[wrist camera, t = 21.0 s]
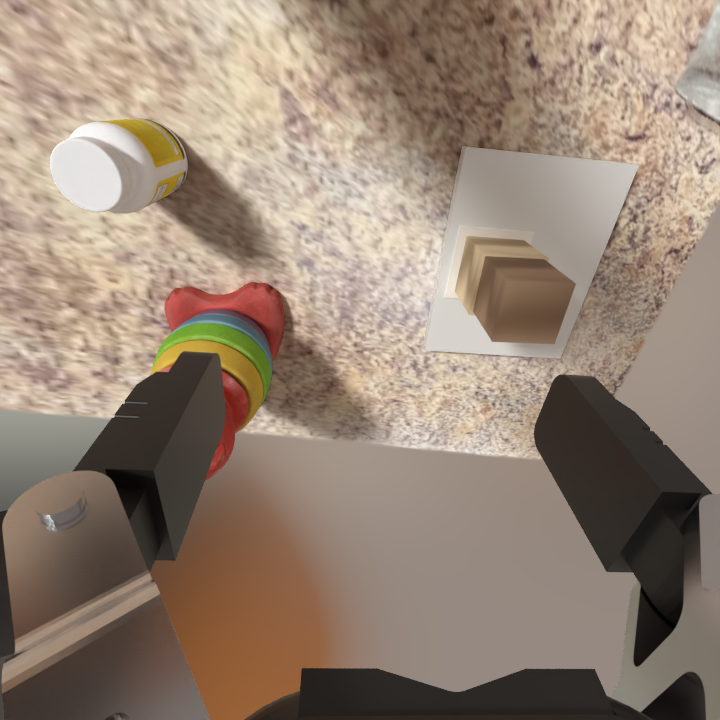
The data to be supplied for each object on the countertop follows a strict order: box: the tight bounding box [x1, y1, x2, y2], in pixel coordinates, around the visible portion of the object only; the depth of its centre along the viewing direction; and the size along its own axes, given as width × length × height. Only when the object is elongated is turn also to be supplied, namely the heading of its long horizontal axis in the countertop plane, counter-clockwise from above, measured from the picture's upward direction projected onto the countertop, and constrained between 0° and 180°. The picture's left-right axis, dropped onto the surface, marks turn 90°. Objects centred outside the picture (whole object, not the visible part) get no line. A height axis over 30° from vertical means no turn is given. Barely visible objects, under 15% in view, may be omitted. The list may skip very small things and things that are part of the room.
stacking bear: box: [151, 282, 284, 480], centre depth 33 cm, size 11×10×18 cm
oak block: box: [455, 236, 549, 315], centre depth 34 cm, size 5×5×5 cm
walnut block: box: [473, 256, 576, 344], centre depth 30 cm, size 4×4×5 cm
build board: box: [423, 146, 639, 359], centre depth 37 cm, size 18×14×1 cm
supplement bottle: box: [50, 119, 188, 213], centre depth 28 cm, size 5×5×10 cm
